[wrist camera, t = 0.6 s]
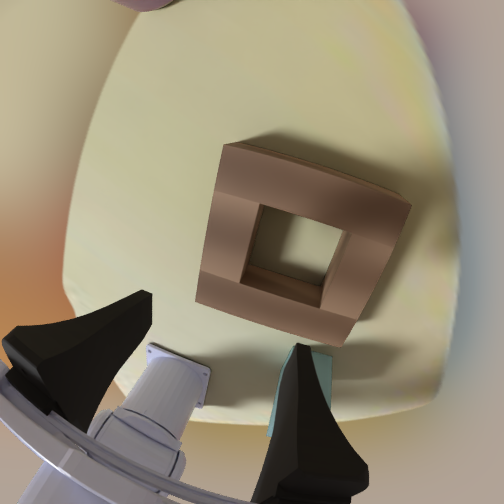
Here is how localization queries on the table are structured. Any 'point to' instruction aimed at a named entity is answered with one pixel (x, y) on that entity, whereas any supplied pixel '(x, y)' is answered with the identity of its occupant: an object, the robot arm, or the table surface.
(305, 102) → the table surface
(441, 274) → the table surface
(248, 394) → the table surface
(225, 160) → the well block
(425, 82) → the table surface
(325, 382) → the bracket post
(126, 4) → the beverage can
